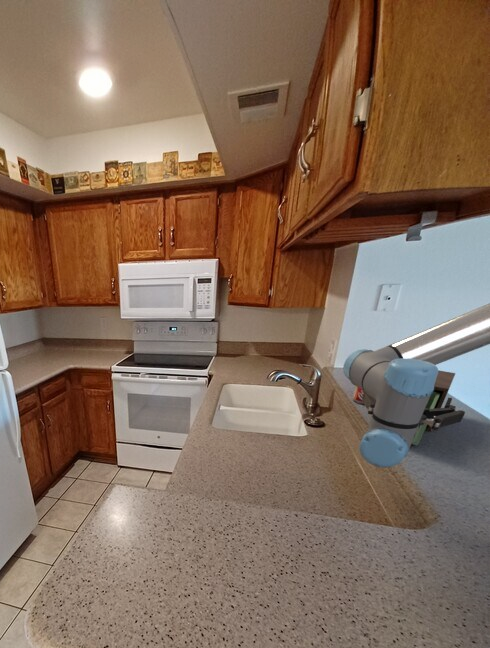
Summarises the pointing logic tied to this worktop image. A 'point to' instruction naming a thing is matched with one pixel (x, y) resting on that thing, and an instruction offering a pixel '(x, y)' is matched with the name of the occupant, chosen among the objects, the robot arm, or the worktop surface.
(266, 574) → the worktop surface
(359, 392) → the soda can
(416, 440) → the storage bin
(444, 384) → the cubby
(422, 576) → the worktop surface
